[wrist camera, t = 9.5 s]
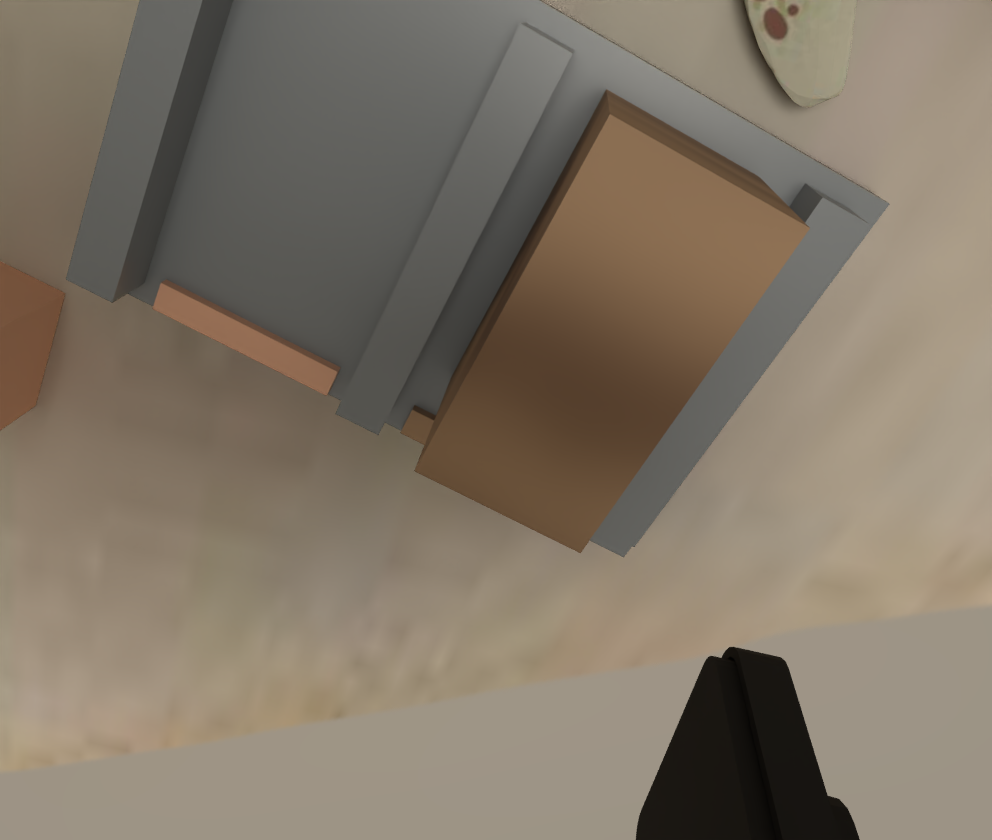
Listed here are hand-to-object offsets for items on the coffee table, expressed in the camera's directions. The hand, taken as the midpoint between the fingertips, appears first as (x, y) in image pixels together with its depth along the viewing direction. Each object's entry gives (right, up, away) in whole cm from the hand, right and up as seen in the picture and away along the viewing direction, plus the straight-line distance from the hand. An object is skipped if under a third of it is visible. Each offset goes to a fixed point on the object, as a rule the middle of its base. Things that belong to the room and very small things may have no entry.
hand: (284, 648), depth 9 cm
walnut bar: (+5, +6, +11) cm, 13 cm away
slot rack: (+1, +7, +12) cm, 14 cm away
